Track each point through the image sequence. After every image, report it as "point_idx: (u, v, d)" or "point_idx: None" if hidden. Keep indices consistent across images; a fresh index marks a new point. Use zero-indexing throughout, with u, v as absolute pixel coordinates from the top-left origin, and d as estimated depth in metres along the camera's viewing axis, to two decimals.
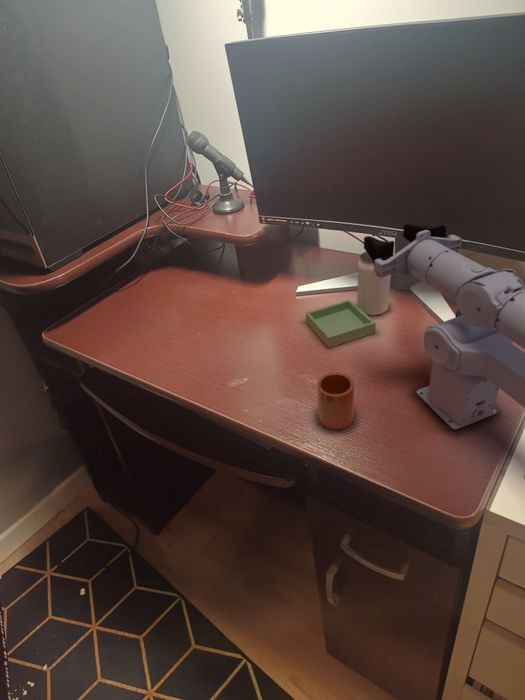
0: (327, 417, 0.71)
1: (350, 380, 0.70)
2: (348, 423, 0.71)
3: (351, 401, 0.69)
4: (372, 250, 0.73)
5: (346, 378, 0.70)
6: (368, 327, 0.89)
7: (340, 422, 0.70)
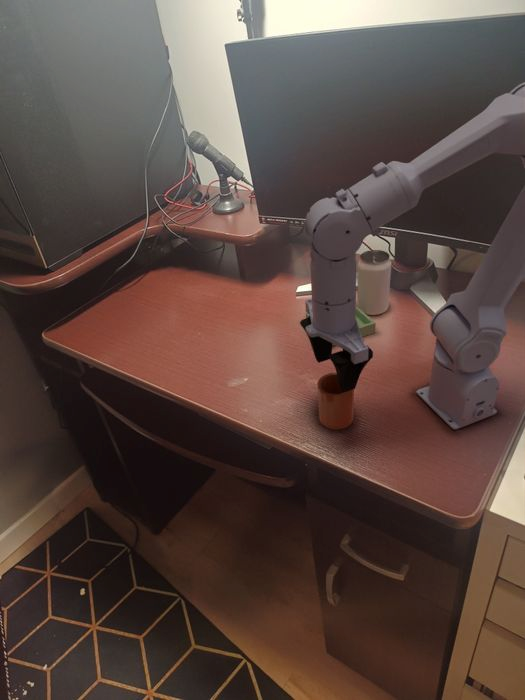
0: (327, 417, 0.71)
1: None
2: (348, 423, 0.71)
3: (351, 401, 0.69)
4: (351, 376, 0.63)
5: None
6: (368, 327, 0.89)
7: (340, 422, 0.70)
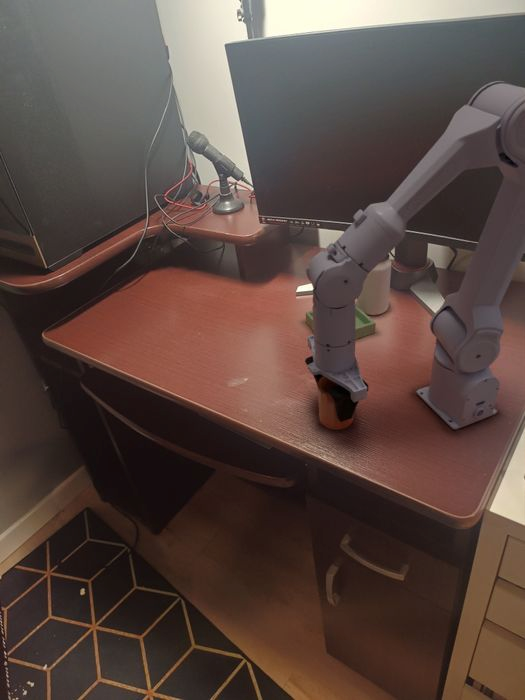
0: (327, 417, 0.71)
1: None
2: (348, 423, 0.71)
3: None
4: (348, 407, 0.68)
5: None
6: (368, 327, 0.89)
7: (340, 422, 0.70)
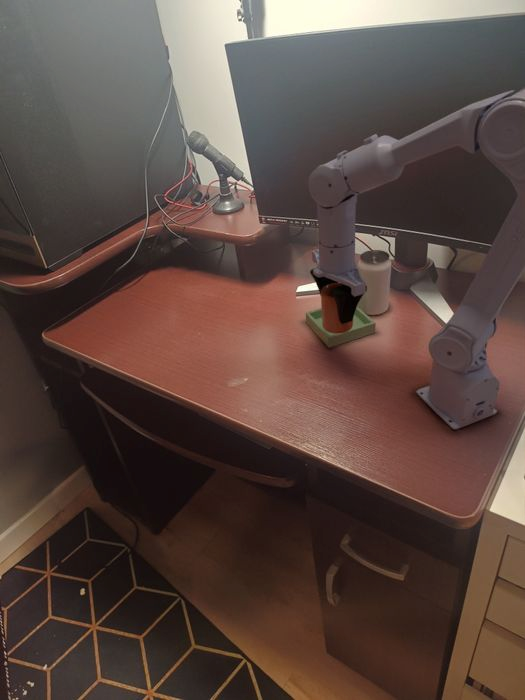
0: (330, 321, 0.79)
1: None
2: (348, 328, 0.80)
3: None
4: (349, 309, 0.76)
5: None
6: (368, 327, 0.89)
7: (341, 326, 0.79)
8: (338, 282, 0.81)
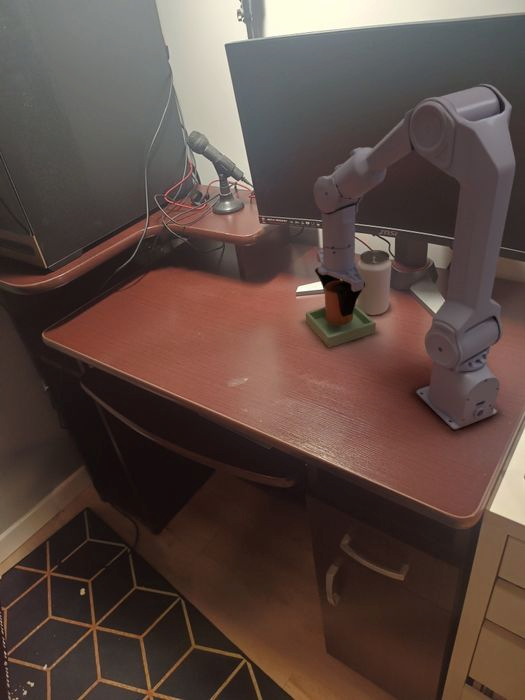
0: (332, 314, 0.89)
1: None
2: (349, 320, 0.90)
3: None
4: (349, 303, 0.86)
5: None
6: (368, 327, 0.89)
7: (342, 318, 0.89)
8: (340, 279, 0.91)
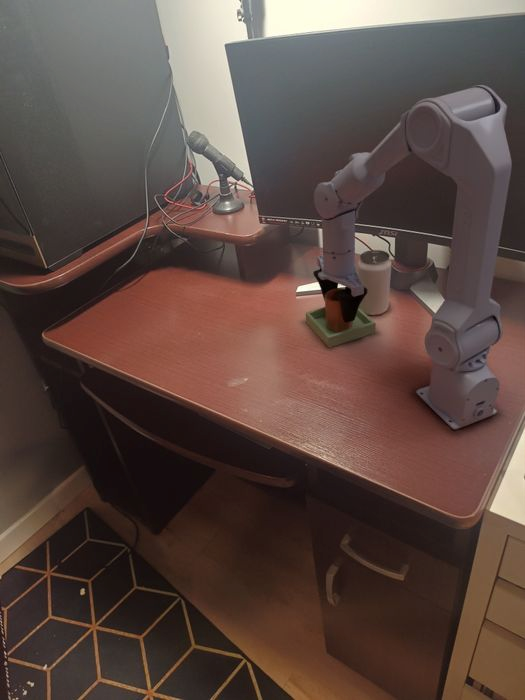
0: (332, 322, 0.90)
1: None
2: (349, 328, 0.91)
3: None
4: (351, 309, 0.86)
5: None
6: (368, 327, 0.89)
7: (342, 326, 0.90)
8: (338, 282, 0.92)
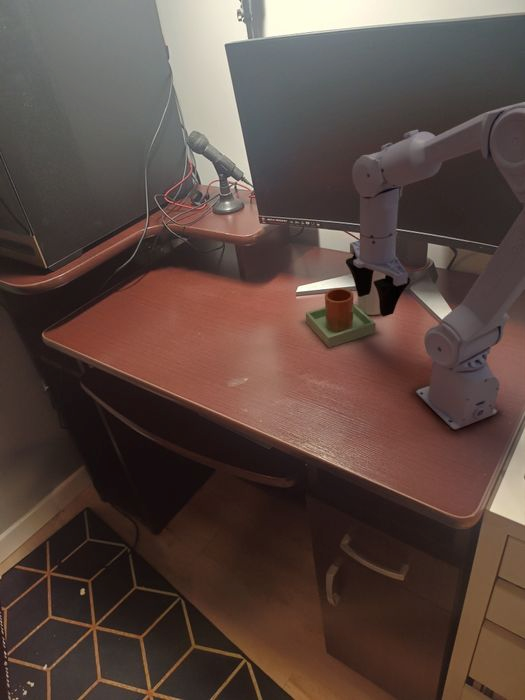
0: (332, 322, 0.90)
1: (350, 292, 0.89)
2: (349, 328, 0.91)
3: (351, 308, 0.89)
4: (390, 301, 0.77)
5: (347, 291, 0.90)
6: (368, 327, 0.89)
7: (342, 326, 0.90)
8: (373, 271, 0.82)
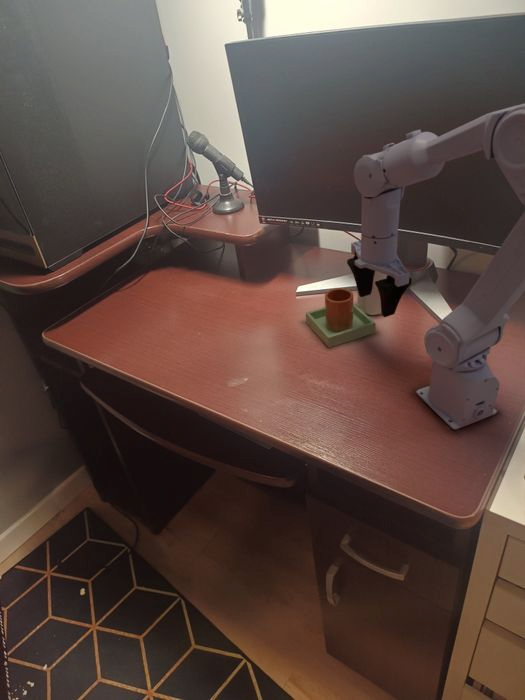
0: (332, 322, 0.90)
1: (350, 292, 0.89)
2: (349, 328, 0.91)
3: (351, 308, 0.89)
4: (392, 302, 0.77)
5: (347, 291, 0.90)
6: (368, 327, 0.89)
7: (342, 326, 0.90)
8: (374, 272, 0.82)
